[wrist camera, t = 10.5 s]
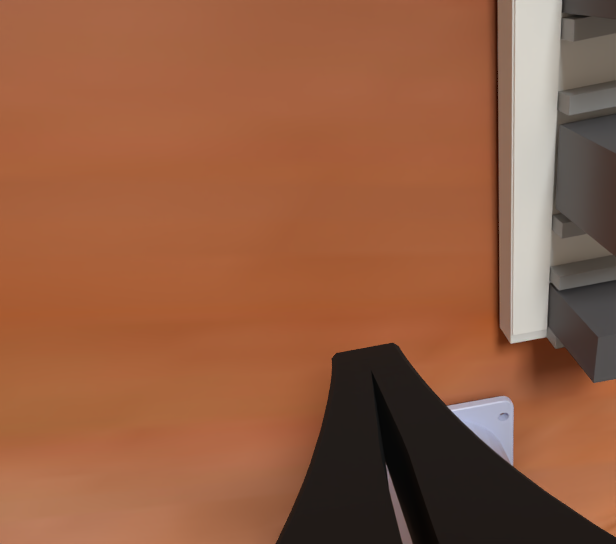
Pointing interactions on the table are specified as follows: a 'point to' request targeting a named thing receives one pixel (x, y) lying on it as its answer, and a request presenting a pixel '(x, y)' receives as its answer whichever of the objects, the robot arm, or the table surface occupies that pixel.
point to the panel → (553, 177)
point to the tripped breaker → (589, 177)
